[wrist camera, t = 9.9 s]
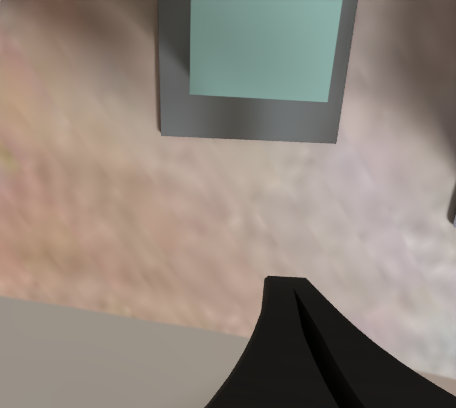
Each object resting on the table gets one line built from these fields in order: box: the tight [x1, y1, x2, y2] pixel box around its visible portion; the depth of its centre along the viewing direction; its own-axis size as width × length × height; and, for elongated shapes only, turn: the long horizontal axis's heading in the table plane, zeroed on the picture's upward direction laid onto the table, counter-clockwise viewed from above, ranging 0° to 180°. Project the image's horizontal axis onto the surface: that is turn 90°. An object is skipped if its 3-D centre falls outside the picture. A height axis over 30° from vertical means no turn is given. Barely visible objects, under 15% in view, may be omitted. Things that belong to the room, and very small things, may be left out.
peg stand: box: [158, 0, 358, 144], centre depth 15 cm, size 10×10×5 cm
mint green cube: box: [190, 0, 342, 102], centre depth 15 cm, size 5×5×6 cm
